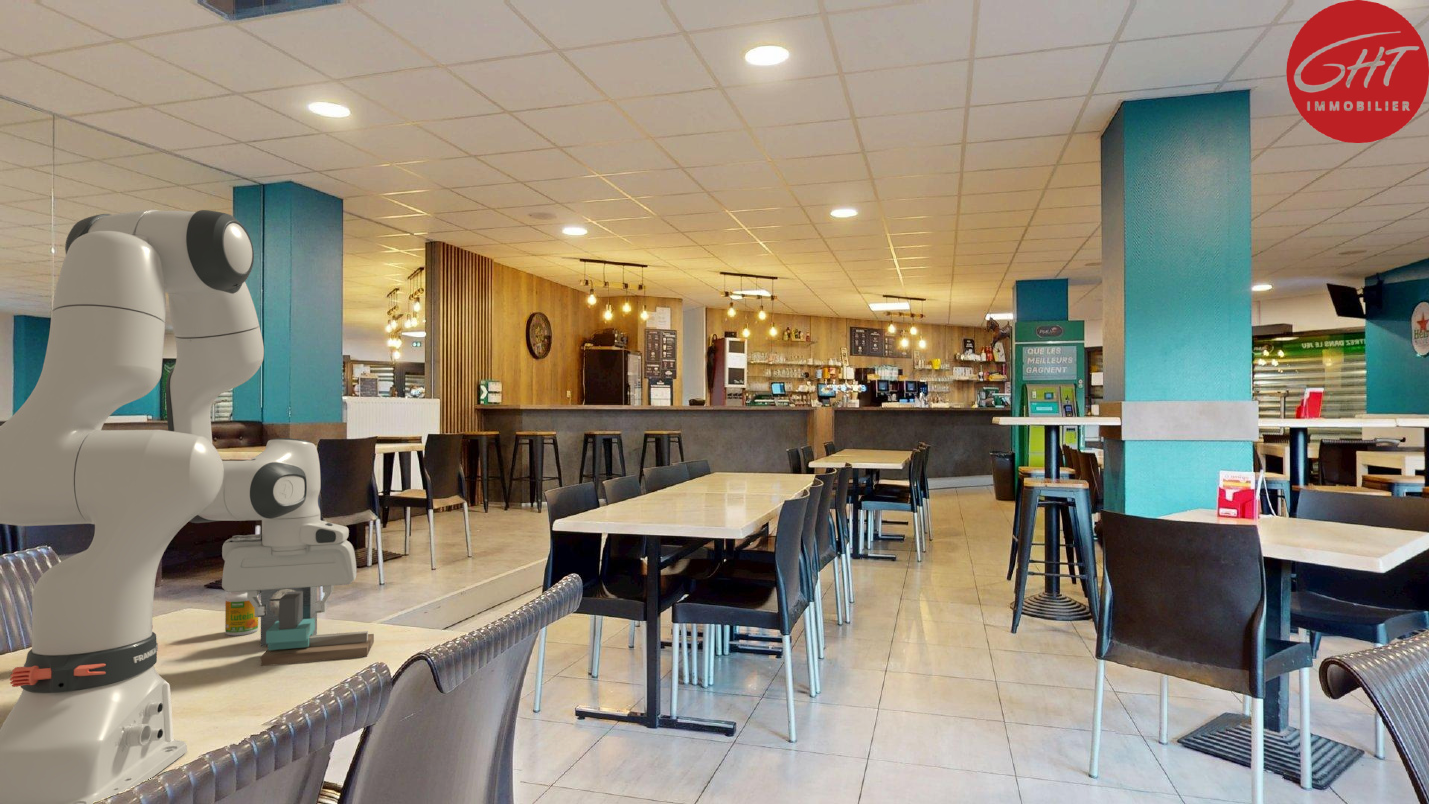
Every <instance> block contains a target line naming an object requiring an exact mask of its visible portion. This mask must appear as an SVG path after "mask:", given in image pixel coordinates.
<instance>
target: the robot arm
mask: <svg viewBox="0 0 1429 804" xmlns="http://www.w3.org/2000/svg"><path fill="white" fill-rule="evenodd" d="M64 249H65V250H64V252H65V257H64V259H63V262H62V265H61V268H60V272H59V275H58V279H57V282H56V286H55V292H54V296H53V303H52V309H51V317H50V318H51V319H50V326H49V327H50V328H49V335H48V339H47V340H48V341H47V346H46V351H45V357H44V362H43V364H42V369H41V370H42V371H41V373H40V376H39V378H38V381H37V383H36V385H35V387H34V389H33V390H32V391H31V394H30V395H29V396H28V397H27V399H26V400H25V401H24V403H23V404H22V405H21V406H20V408H19V409H18V410H17V411H16V412H15V413H14V414H13V415H12V416H11V417H10V418H8V420H6V421H5V422H4V423H3V424H1V425H0V524H1V525H11V526H20V527H34V526H37V527H40V526H59V525H60V526H61V525H84V524H85V525H87V524H89V525H90V524H91V525H94V536H93V539H92V541H91V542H90V545H89V546H88V548H87V549H85V550H83V551H81V552H78V553H76V554H74V555H72V556H70V557H68V558H66V559H63V560H62V561H59V562H58V563H56V564H54V565H53V566H51V567H49V569H47V570H46V571H44V572H43V574H42V575H41V576H40V577H39V579H37V582H36V583H35V585H34V587H33V591H32V606H31V607H32V612H31V613H32V615H31V616H32V617H31V619H32V620H31V628H32V629H31V649H29V651H28V652H27V653H26V658H25V662H24V664H23V666H16V667H15V668H14V667H13V668H14V669H12V671H11V674H10V678H9V681H10V685H11V687H12V688H15V687H16V688H18V687H20V688H21V689H22V691H21V693H20V695H19V697H18V699H17V701H16V702H15V704H14V705H13V707H12V708H11V709H10V712H9V713H8V714H7V716H6V718H5V720H4V722H3V723H2V725H1V727H0V804H93V802H94V801H99V800H101V799H102V798H107V797H108V796H111V795H114V794H117V793H119V792H123V791H125V790H126V789H130V788H131V787H133V786H136V785H137V784H138V783H141V782H143V781H144V780H148V779H149V778H151V779H152V778H154V776H156V775H157V774H159V773H160V772H162V771H164V769H165V768H167V767H168V766H170V765H171V764H172V763H174V762H175V761H176V760H178V759H179V758H181V757H182V756H184V755H185V754H186V753H187V752H188V747H187V746H188V744H187V742H186V741H183V740H179V739H174V726H173V712H172V711H173V709H172V697H171V696H172V694H171V687H170V686H171V685H170V683H169V682H167V680H166V679H164V678H163V677H162V676H161V675H160V674H159V673H158V672H157V671H158V670H156V668H155V665H156V664H157V662H158V660H157V655H158V651H159V647H158V646H159V645H158V642H157V634H156V633H155V632H154V631H153V629H152V625H153V614H154V613H153V609H154V598H155V597H154V596H155V595H154V594H155V585H156V579H157V572H158V568H159V565H160V562H161V560H162V557H163V555H164V552H166V550H167V548H168V546H169V544H170V543H171V541H172V540H173V539H174V537H175V536H176V535H177V534H178V532H180V530H181V529H182V528H184V526H186V525H187V523H188V522H189V523H192V524H193V523H194V524H201V523H202V524H204V523H212V522H221V521H229V522H230V521H232V522H233V521H235V522H237V521H239V522H242V521H243V522H245V521H261V533H260V534H259V533H257V534H247V535H240V534H237V535H232V537H230V538H229V539H227V540H225V541H224V542H223V545H222V548H221V549H222V550H221V551H222V552H221V555H222V559H223V561H224V565H223V568H222V569H223V571H222V577H221V578H222V579H221V587H222V589H224V591H225V592H226V593H231V592H241V591H247V598H248V600H249V601H250V602H251V604H252V605H253V607H255V617H258V618H261V617H265V616H266V615H267V610H266V609H267V604H264V605H262V604H261V600H260V598H257V596H258V597H259V595H261V590H272V589H288V588H304V587H317V588H318V587H322V593H325V594H324V596H323V597H322V599H321V600H317V602H316V603H315V607H316V609H315V613H317V614H319V613H325V612H326V611H327V601H328V600H329V598H330V596H331V595H332V593H333V591H334V587H335V586H345V585H346V586H349V585H351V584H352V583H353V582H354V581H355V580H356V578H357V571H358V570H357V560H356V554H355V548H354V546H353V544H352V543H351V542H350V541H348V540H347V539H348V538H349V535H350V534H349V533H350V530H349V528H348V527H347V526H344V525H342V524H341V525H340V524H338V523H337V524H336V523H332V522H328V521H325V520H321V509H320V506H319V495H320V492H321V465H320V464H321V463H320V458H319V453H318V449H317V446H316V444H314V443H313V442H311V441H309V440H307V439H301V438H293V437H292V438H290V437H278V438H273V439H270V440H268V441H267V443H266V446H265V449H264V450H263V451H262V452H260V453H259V454H258V455H256V456H254V457H251V458H250V459H247V460H222V457H221V455H220V453H219V450H217V448H216V446H215V445H214V444H213V435H212V434H213V433H212V420H211V409H212V405H213V403H214V401H215V400H216V399H217V398H218V397H219V396H221V395H222V394H224V393H226V392H229V391H230V390H233V389H235V388H238V387H239V386H241V385H243V384H244V383H246V382H248V381H249V380H250V379H252V377H253V376H254V375H256V373H257V372H258V370H259V369H260V367H261V365H262V364H263V361H264V355H265V349H264V348H265V347H264V339H263V336H262V332H261V327H260V322H259V318H258V314H257V311H256V307H255V304H254V301H253V299H252V295H251V293H250V290H249V287H248V285H247V283H246V281H247V280H248V278H249V276H250V274H251V272H252V269H253V266H254V262H255V260H254V259H255V251H254V245H253V242H252V239H251V237H250V234H249V232H248V231H247V229H246V228H245V226H244V225H243V224H242V223H241V222H240V221H238V219H236V217H234V216H233V215H232V214H229V213H226V212H222V211H216V210H215V211H214V210H209V209H208V210H207V209H202V210H201V209H200V210H198V211H187V210H158V209H147V210H144V209H143V210H136V211H128V212H127V211H126V212H121V213H115V214H110V213H102V214H101V213H100V214H96V215H92V216H89V217H86V218H83V219H81V220H79V221H77V222H76V223H75V224H74V225H73V226H72V228H71V229H70V231H69V233H68V235H67V237H66V240H65V245H64ZM166 293H167V295H168V306H169V315H170V321H171V327H172V331H173V336H174V340H175V344H176V360H175V365H174V367H173V368H172V369H171V370H170V371H169V372H168V375H167V378H166V383H165V406H166V407H165V409H166V421H167V430H165V429H124V430H123V429H116V430H115V429H112V430H111V429H109V430H107V429H105V430H104V429H103V430H102V428H103V426H104V424H105V422H106V421H107V420H108V418H110V416H111V415H112V414H113V413H114V412H115V411H116V410H118V409H119V408H121V407H123V406H124V405H128V404H129V403H132V402H134V401H137V400H140V399H141V398H144V397H145V396H147V395H148V394H150V393H151V391H153V390H154V389H155V388H156V386H157V385H158V384H159V382H160V380H161V377H162V373H163V372H162V370H163V357H164V348H165V346H164V345H165V332H166V316H167V315H166V314H167V308H166V307H167V306H166V305H167V300H166V299H167V297H166ZM149 780H150V779H149ZM149 780H148V781H149Z"/></svg>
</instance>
